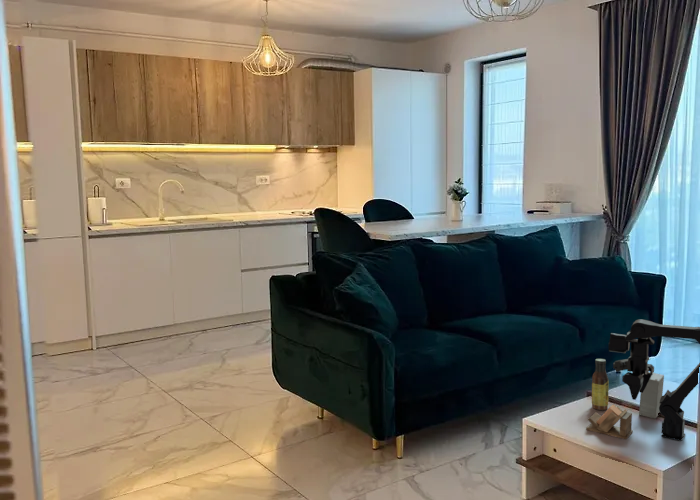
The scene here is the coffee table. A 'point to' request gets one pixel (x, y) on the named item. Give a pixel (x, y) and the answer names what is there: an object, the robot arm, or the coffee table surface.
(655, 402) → the skincare box
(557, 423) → the coffee table surface
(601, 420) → the peg
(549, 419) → the coffee table surface
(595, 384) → the sauce bottle
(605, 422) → the cradle
